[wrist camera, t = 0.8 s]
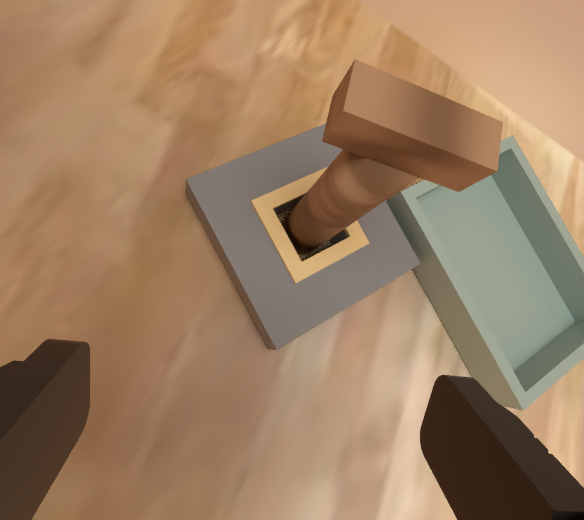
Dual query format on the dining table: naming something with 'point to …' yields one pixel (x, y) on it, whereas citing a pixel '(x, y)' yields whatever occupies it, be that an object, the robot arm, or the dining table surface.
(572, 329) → the tray
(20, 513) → the robot arm
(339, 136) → the t key
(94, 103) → the dining table surface
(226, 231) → the plate
